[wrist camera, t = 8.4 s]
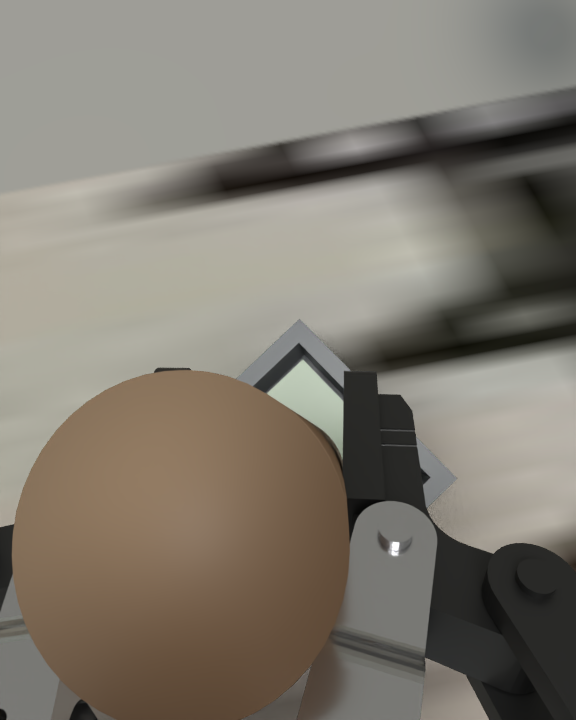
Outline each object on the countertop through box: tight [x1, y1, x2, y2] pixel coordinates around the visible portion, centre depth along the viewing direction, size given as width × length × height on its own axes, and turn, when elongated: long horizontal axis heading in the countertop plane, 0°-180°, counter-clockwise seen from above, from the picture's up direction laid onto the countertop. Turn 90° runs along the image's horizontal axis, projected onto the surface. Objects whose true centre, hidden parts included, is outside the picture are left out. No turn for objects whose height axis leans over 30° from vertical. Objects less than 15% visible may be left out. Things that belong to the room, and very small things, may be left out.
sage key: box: [267, 360, 343, 460], centre depth 24 cm, size 6×6×4 cm
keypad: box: [236, 319, 457, 508], centre depth 25 cm, size 10×26×4 cm, turn 133°
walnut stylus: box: [12, 370, 350, 720], centre depth 11 cm, size 4×4×12 cm
